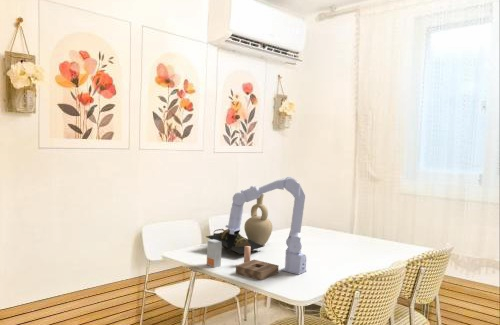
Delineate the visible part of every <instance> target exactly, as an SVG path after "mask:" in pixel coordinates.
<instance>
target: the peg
mask: <svg viewBox="0 0 500 325" xmlns="http://www.w3.org/2000/svg"><path fill="white" fill-rule="evenodd" d="M251 251H252V250H251V247H250V246H245V249H244V253H243V254H244V255H243V263H245V262H248V261H251V253H252V252H251Z"/></svg>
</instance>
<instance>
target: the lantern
mask: <svg viewBox="0 0 500 325" xmlns="http://www.w3.org/2000/svg"><path fill="white" fill-rule="evenodd" d="M218 231H221V232H218ZM215 232H217V233H215ZM226 232H229V230H228V228H226V229H223V228H221V229H220V228H219V229H215V230H214V231H213V234H211V235H207V236H205V237H206V238H207V239H208V240H213V239H215V240H218V241H221V242H222V247H221V248H222V249H224V250H229V251H232V252H235V253H237V254H239V255H242V254H244V249H245V246H250V247H251V251H254V250H258V249H260V248H264V245H260V244H257V243H255V242H253V241H251V240H249V239H248V238H246V237H244V236H242V235H241V234H240V232H239V233H238V236H237V237H236V240H235V243H234V245H233V247H232V249H231V248H228V247H227V236H226Z"/></svg>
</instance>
